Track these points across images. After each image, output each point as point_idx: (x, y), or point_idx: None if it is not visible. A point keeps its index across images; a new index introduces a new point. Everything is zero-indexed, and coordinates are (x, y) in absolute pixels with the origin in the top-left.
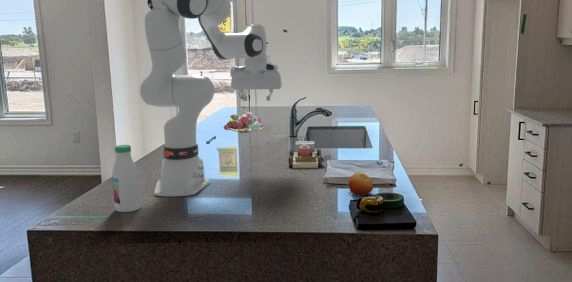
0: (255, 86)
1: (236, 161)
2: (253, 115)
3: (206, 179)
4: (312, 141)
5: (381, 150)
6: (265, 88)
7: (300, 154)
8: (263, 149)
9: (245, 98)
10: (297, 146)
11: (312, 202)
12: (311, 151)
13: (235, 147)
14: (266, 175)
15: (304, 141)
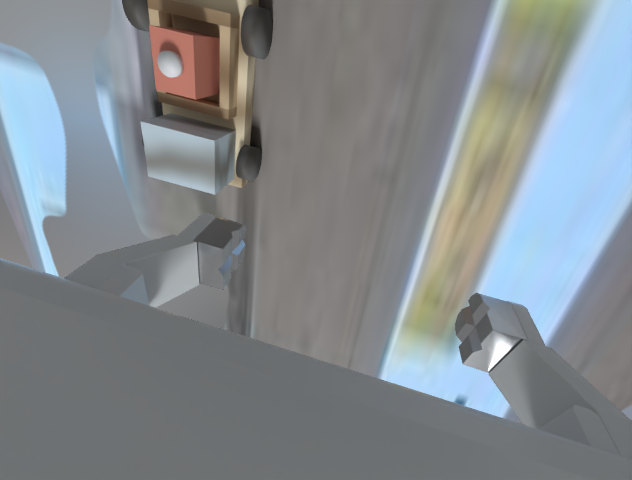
0: (354, 429)
1: (450, 180)
2: None
3: None
4: (154, 171)
5: (12, 176)
6: (154, 316)
7: (205, 36)
8: (327, 296)
9: (502, 315)
10: (211, 136)
11: None
12: (172, 118)
13: (400, 342)
14: None
15: (182, 181)
